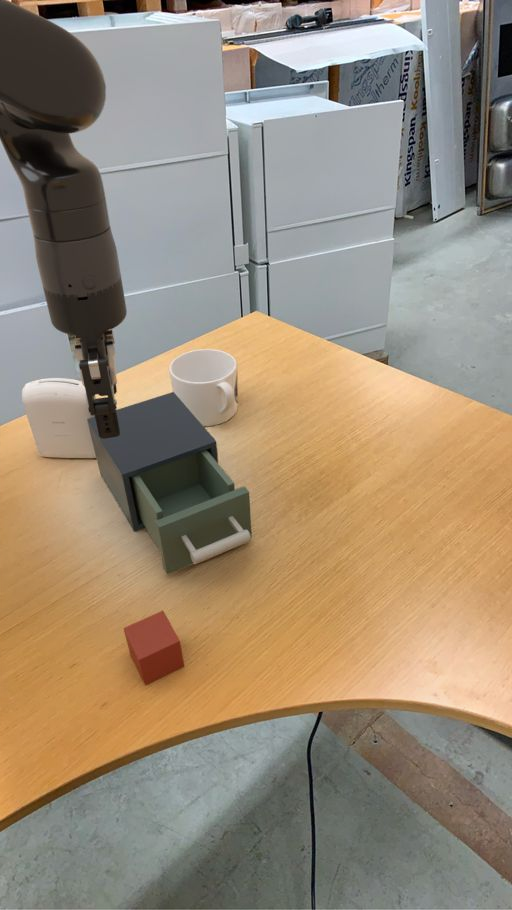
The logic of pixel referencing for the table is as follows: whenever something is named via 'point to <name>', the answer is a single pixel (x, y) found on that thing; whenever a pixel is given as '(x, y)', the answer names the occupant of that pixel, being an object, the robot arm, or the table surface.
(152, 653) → the block
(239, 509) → the drawer
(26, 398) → the photo printer
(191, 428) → the cabinet
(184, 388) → the mug
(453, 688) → the table surface
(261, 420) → the table surface
